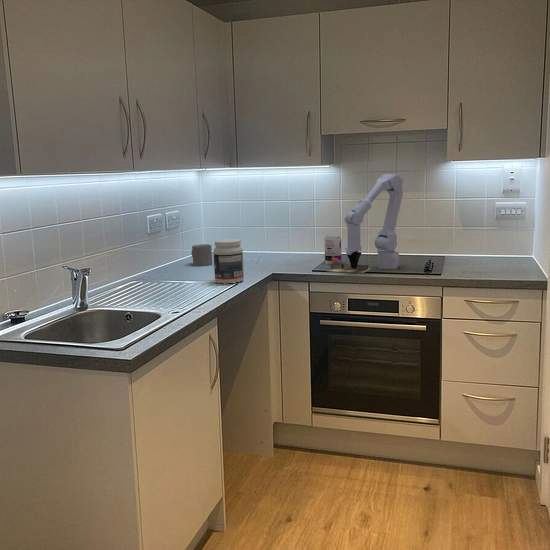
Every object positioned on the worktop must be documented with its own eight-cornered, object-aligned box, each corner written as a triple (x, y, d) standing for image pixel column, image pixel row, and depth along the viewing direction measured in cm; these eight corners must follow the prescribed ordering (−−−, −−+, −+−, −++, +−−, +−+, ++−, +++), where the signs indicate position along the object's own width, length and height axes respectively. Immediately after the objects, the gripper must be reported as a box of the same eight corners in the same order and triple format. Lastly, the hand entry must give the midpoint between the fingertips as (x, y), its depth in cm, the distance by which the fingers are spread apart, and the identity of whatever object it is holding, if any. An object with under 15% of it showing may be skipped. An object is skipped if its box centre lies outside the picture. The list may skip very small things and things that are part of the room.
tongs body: (368, 269, 286) (368, 264, 286) (365, 270, 283) (365, 265, 283) (333, 267, 294) (333, 262, 294) (330, 268, 291) (330, 264, 290)
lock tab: (338, 262, 292) (338, 258, 291) (336, 263, 290) (336, 259, 289) (333, 262, 293) (333, 258, 292) (331, 263, 291) (331, 258, 290)
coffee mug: (215, 264, 321) (214, 245, 319) (198, 267, 316) (197, 247, 314) (204, 261, 332) (203, 243, 330) (187, 263, 327) (186, 245, 325)
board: (371, 271, 288) (371, 268, 288) (363, 275, 277) (363, 272, 277) (335, 269, 296) (335, 266, 296) (325, 273, 285) (325, 271, 285)
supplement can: (341, 264, 310) (341, 234, 307) (341, 267, 301) (341, 236, 299) (325, 264, 310) (324, 234, 308) (324, 267, 302) (324, 236, 300)
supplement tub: (217, 279, 281) (215, 238, 278) (245, 278, 280) (243, 238, 277) (212, 285, 268) (210, 242, 265) (242, 284, 267) (240, 242, 264)
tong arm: (367, 268, 285) (367, 263, 285) (365, 269, 283) (365, 264, 282) (339, 267, 292) (338, 261, 291) (336, 268, 289) (336, 262, 289)
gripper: (351, 236, 287) (351, 265, 289) (339, 240, 274) (340, 270, 277) (365, 236, 284) (365, 266, 286) (354, 240, 271) (355, 271, 274)
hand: (354, 268), depth 281 cm, fingers closed
